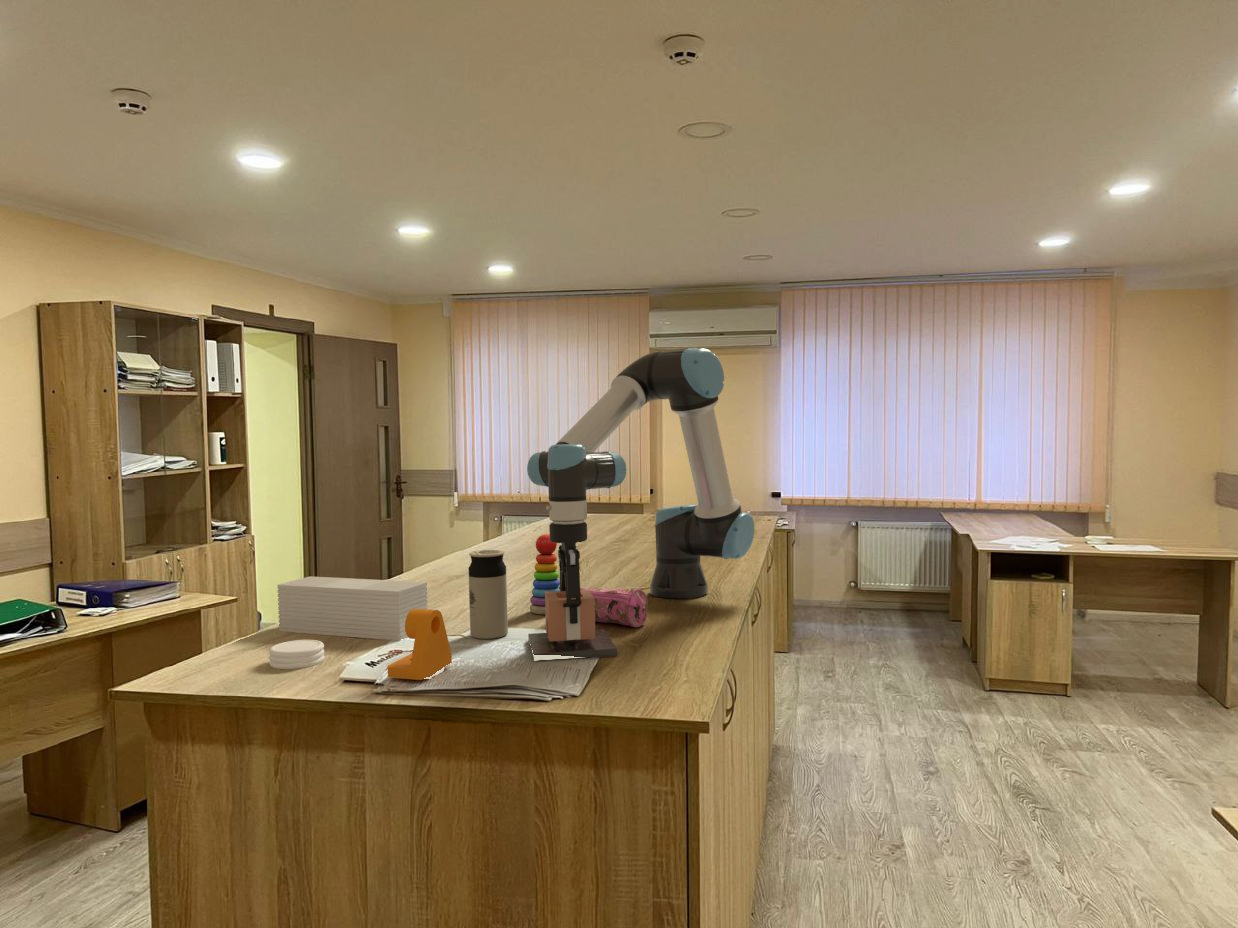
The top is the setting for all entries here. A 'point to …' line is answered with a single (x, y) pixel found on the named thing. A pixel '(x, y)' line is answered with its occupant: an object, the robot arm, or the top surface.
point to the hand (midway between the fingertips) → (570, 633)
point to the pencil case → (620, 606)
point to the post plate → (574, 646)
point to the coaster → (296, 654)
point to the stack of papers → (349, 606)
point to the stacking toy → (544, 573)
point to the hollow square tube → (558, 615)
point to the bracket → (423, 646)
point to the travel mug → (488, 594)
